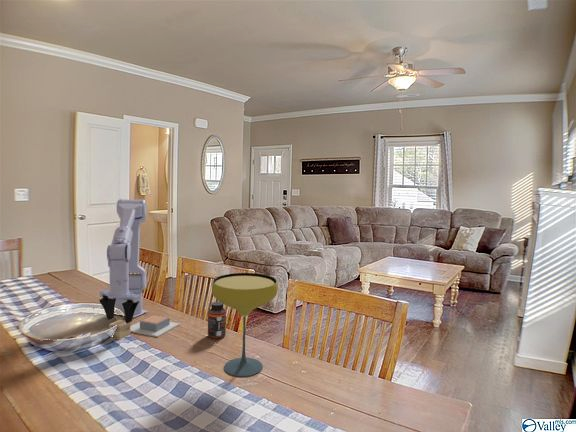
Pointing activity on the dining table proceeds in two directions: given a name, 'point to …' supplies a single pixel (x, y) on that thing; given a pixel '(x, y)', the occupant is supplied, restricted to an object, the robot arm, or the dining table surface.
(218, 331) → the supplement bottle
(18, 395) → the dining table surface
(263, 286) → the cocktail glass
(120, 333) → the maple block
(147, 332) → the base
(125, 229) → the robot arm
